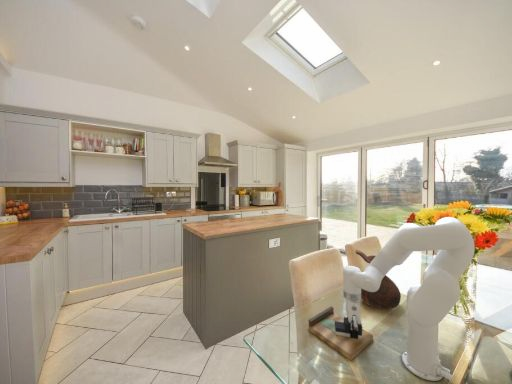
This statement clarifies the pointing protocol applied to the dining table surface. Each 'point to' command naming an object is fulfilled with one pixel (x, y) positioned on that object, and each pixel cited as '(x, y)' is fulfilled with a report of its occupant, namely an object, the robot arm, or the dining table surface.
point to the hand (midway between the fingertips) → (352, 330)
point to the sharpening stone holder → (325, 330)
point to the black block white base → (346, 328)
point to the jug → (381, 291)
